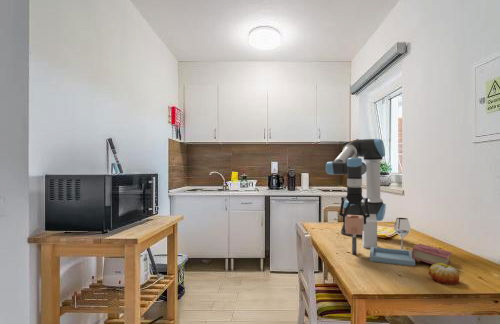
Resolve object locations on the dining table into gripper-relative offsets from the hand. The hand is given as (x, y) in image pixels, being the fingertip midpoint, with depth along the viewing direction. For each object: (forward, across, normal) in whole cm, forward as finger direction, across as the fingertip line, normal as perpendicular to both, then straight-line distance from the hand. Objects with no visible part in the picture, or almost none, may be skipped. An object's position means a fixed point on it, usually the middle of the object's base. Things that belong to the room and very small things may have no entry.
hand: (354, 229), depth 170 cm
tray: (+13, +18, 0) cm, 22 cm away
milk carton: (+13, +7, +20) cm, 25 cm away
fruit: (+13, +37, -26) cm, 47 cm away
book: (+12, +35, -1) cm, 37 cm away
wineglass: (+13, +24, +17) cm, 32 cm away
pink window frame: (+1, 0, 0) cm, 1 cm away
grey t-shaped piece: (+13, 0, 0) cm, 13 cm away
